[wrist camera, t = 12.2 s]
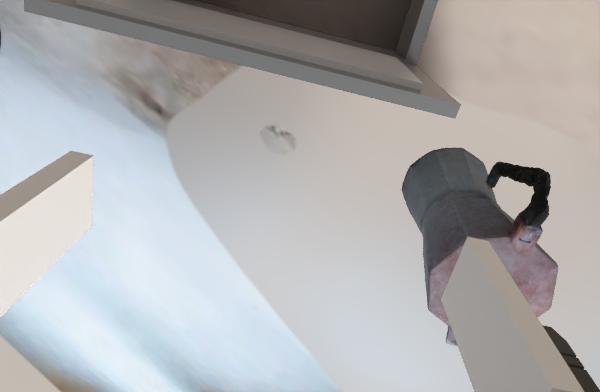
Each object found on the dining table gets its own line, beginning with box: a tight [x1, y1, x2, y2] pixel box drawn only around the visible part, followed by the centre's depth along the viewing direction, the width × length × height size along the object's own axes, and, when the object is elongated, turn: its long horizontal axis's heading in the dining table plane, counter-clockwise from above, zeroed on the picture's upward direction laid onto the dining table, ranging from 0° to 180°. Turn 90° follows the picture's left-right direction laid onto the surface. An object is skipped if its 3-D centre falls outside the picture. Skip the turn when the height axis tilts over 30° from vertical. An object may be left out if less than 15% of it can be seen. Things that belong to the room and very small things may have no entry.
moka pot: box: [402, 148, 558, 346], centre depth 39 cm, size 10×15×20 cm, turn 168°
